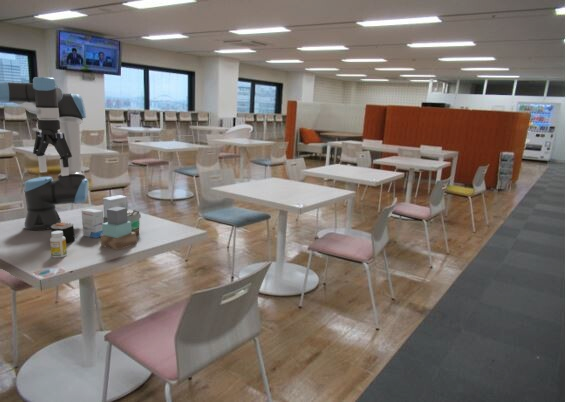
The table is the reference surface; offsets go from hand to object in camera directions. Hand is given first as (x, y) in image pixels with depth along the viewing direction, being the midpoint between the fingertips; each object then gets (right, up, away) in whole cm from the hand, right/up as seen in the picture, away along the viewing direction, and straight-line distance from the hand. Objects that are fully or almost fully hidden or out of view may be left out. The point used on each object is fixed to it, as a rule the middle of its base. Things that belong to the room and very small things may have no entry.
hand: (54, 173), depth 161 cm
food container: (+22, -26, +25) cm, 43 cm away
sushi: (-4, -28, +14) cm, 32 cm away
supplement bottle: (+3, -32, -2) cm, 32 cm away
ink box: (+5, -26, +23) cm, 35 cm away
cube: (+21, -20, +10) cm, 31 cm away
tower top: (+21, -25, +11) cm, 34 cm away
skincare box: (+3, -19, +54) cm, 57 cm away
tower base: (+21, -29, +12) cm, 38 cm away
